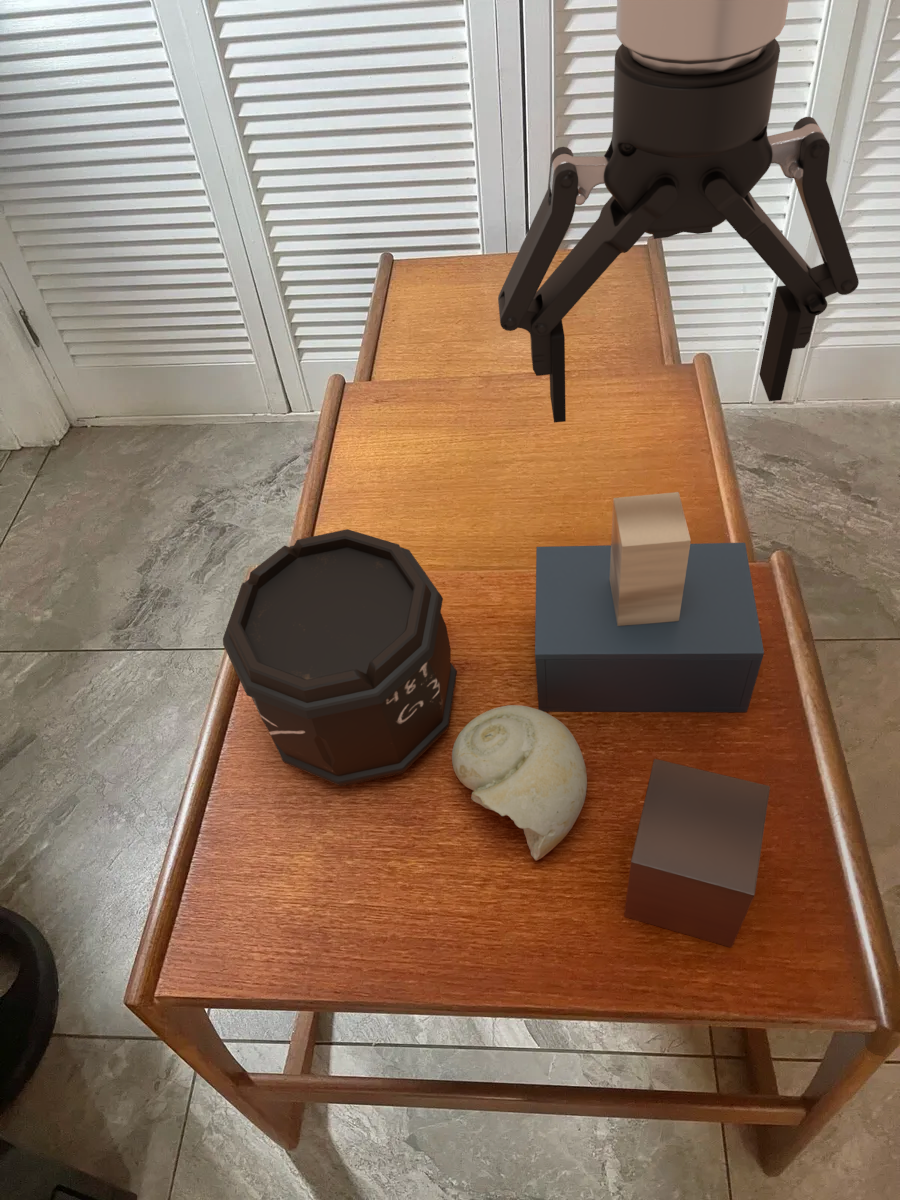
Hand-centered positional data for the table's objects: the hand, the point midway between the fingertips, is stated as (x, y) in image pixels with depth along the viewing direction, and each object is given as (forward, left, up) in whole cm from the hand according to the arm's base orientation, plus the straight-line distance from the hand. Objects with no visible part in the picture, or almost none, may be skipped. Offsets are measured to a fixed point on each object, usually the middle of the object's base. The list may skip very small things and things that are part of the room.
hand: (662, 398), depth 59 cm
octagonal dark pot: (-11, +23, -31) cm, 40 cm away
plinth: (-19, -8, -31) cm, 37 cm away
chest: (0, 0, -31) cm, 31 cm away
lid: (0, 0, -22) cm, 22 cm away
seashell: (-15, +6, -31) cm, 35 cm away
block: (0, 0, -22) cm, 22 cm away
